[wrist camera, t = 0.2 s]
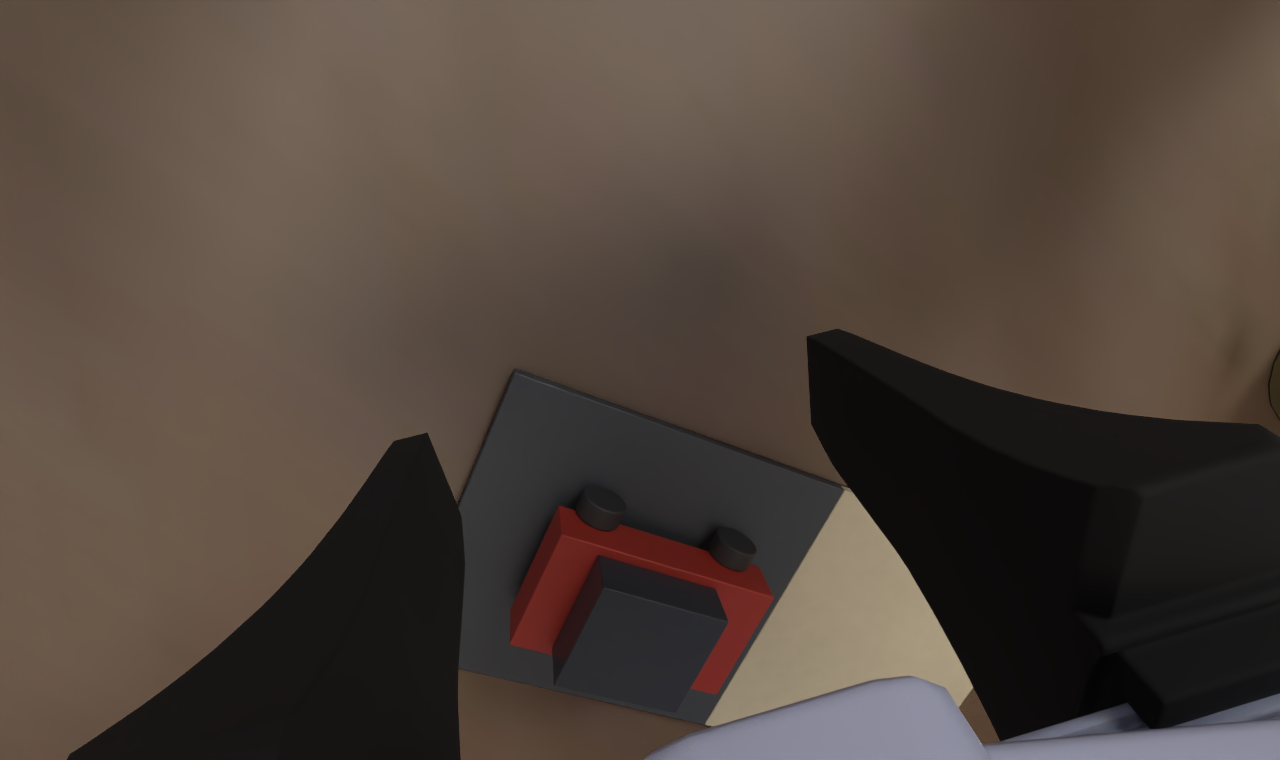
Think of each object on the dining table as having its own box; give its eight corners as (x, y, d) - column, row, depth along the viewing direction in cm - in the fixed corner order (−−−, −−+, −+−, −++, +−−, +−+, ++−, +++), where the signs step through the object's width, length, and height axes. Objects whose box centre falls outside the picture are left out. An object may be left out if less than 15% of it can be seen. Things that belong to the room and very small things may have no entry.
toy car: (692, 662, 29) (718, 751, 25) (502, 613, 27) (499, 702, 23) (763, 537, 27) (803, 612, 23) (566, 474, 25) (574, 545, 21)
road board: (907, 765, 34) (911, 772, 33) (398, 647, 27) (396, 655, 26) (1055, 561, 30) (1061, 567, 30) (514, 368, 23) (514, 372, 23)
